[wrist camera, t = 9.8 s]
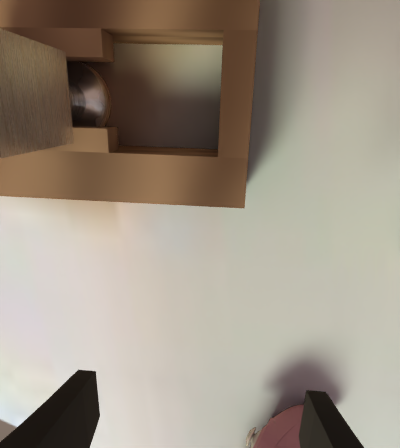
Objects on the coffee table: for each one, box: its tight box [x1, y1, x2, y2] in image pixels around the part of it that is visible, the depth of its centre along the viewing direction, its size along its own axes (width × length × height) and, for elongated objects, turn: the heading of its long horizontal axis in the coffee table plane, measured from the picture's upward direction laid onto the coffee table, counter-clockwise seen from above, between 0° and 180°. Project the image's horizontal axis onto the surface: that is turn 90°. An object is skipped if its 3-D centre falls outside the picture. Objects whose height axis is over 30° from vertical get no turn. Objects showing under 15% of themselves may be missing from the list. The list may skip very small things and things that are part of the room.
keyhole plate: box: [0, 0, 260, 208], centre depth 16 cm, size 14×10×3 cm
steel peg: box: [0, 29, 111, 159], centre depth 14 cm, size 4×4×10 cm
